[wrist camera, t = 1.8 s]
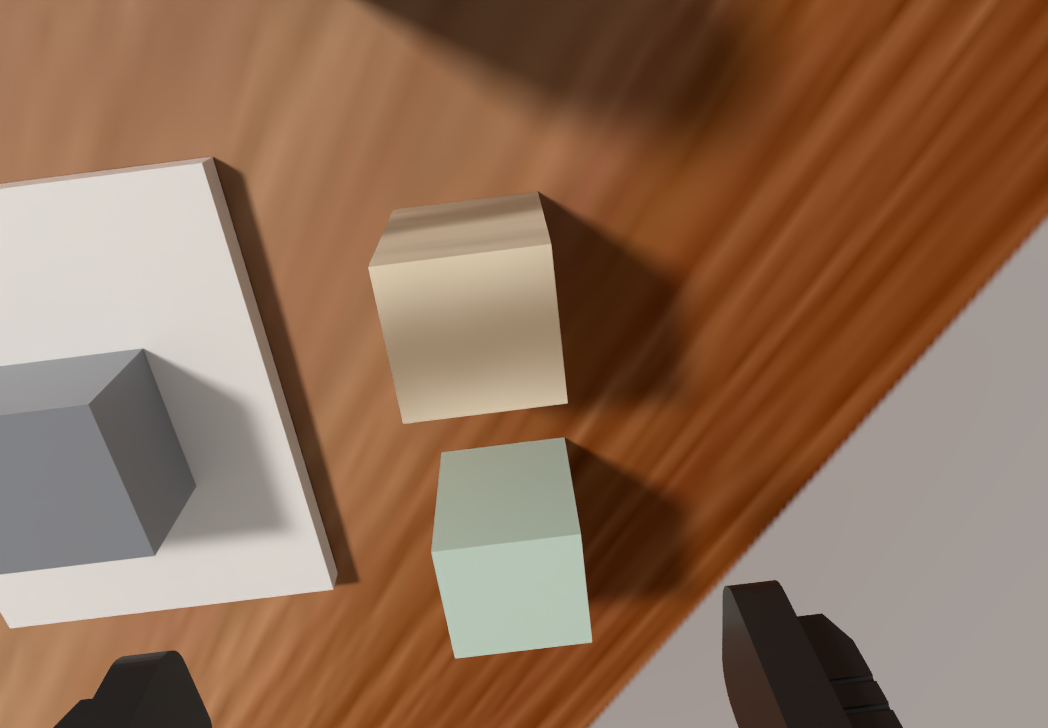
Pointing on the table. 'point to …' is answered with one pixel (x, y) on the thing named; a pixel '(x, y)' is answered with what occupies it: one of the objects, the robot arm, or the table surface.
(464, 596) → the sage block
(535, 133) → the table surface
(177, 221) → the build plate
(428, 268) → the birch block
